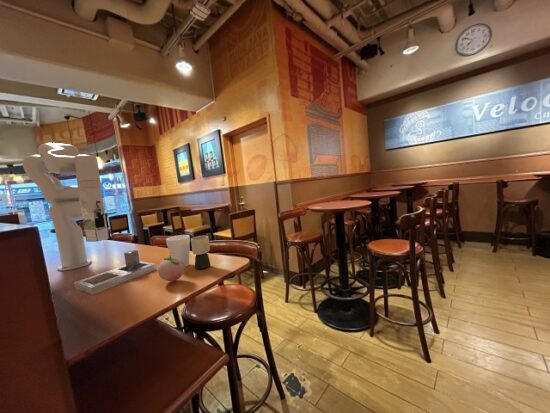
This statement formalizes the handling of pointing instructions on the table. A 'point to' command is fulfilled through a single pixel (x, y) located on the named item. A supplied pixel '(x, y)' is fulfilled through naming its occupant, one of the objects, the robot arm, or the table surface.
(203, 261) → the character mug
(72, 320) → the table surface
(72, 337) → the table surface
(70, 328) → the table surface
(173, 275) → the decorative fruit
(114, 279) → the hole plate
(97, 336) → the table surface
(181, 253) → the foam cup
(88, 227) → the syrup box
